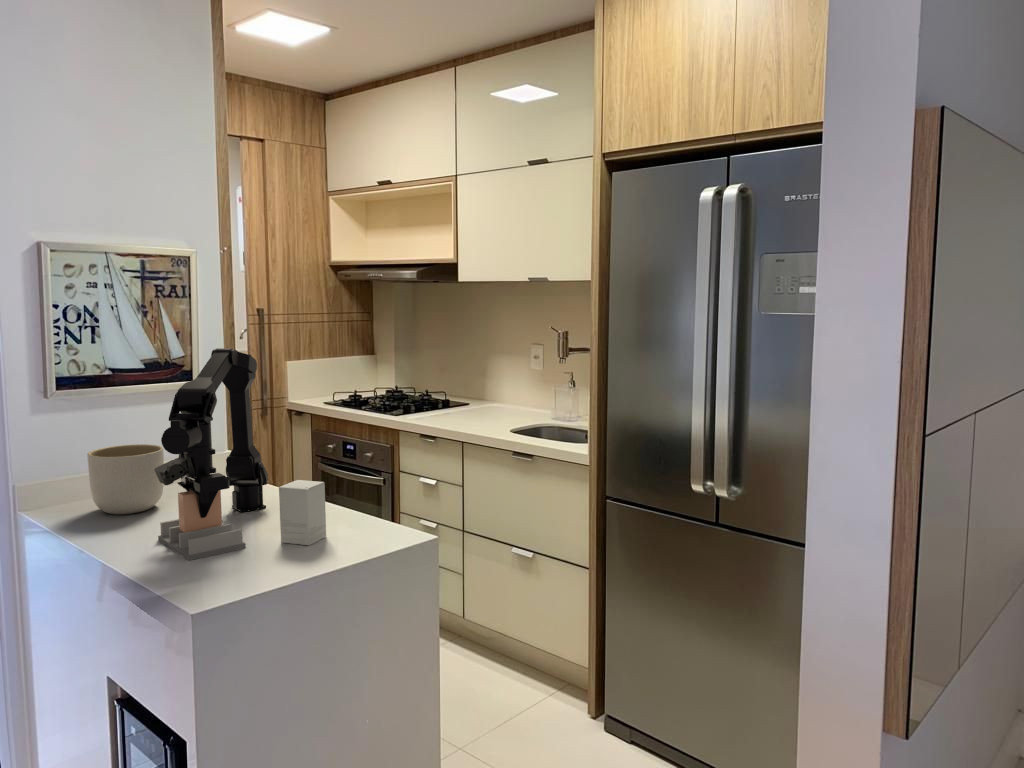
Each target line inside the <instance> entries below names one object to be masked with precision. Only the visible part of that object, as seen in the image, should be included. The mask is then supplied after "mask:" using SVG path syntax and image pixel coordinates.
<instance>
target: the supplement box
mask: <svg viewBox="0 0 1024 768" xmlns="http://www.w3.org/2000/svg"><path fill="white" fill-rule="evenodd" d="M325 484H326V483H325V482H324V481H317V480H316V481H315V480H314V481H313V480H305V479H302V480H301V479H296V480H293V481H291V482H289V483H285V484H283V485H281V486H278V499H279V501H278V503H279V523H280V542H281V543H283V544H284V543H285V544H294V545H300V546H301V545H302V546H311V545H312V544H314V543H317V542H318V541H320V540H322V539H324V538H325V537H327V520H326V519H327V518H326V517H327V515H326V514H327V513H326V491H325V490H326V485H325Z"/></svg>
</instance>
